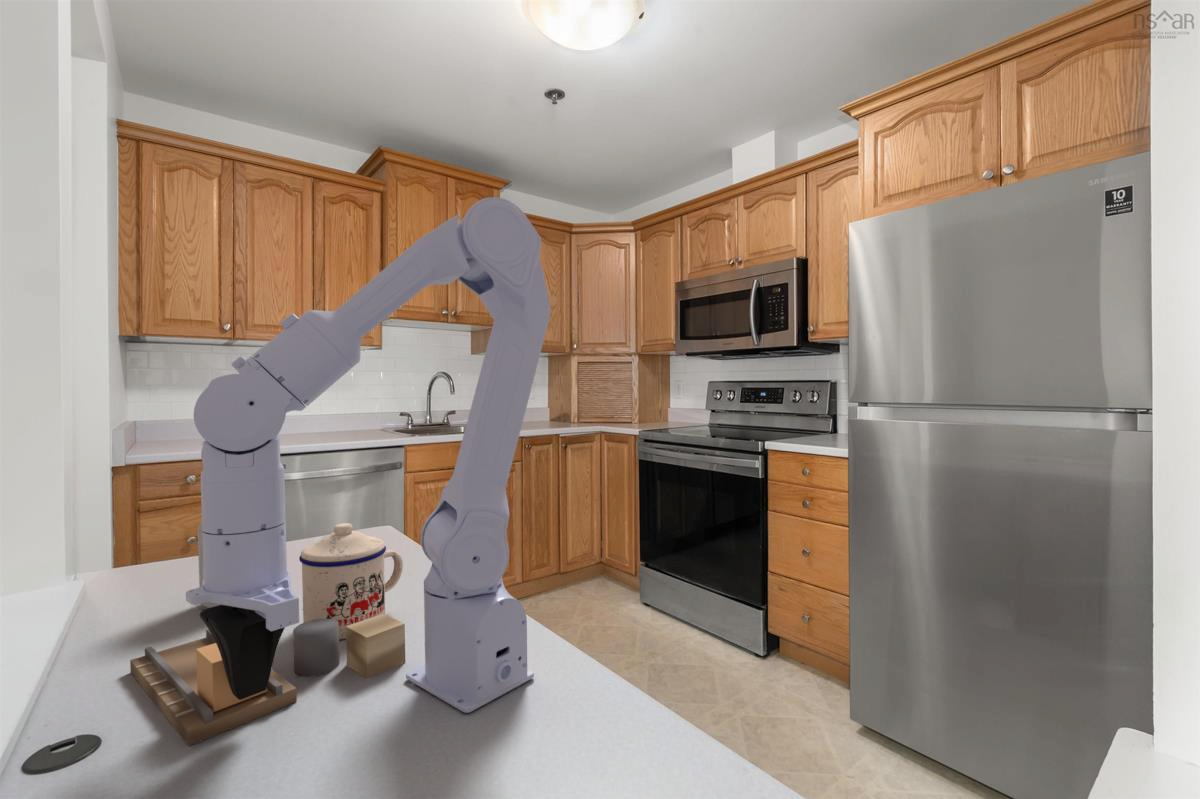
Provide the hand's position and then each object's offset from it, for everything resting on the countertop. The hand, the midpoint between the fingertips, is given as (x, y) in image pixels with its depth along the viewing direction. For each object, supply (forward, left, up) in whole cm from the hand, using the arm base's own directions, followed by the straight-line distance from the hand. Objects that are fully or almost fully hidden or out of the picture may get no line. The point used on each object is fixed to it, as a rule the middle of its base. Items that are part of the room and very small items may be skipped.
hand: (249, 692), depth 47 cm
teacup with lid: (+13, -16, -3) cm, 21 cm away
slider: (+4, 0, -2) cm, 4 cm away
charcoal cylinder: (+6, -8, -3) cm, 10 cm away
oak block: (+2, -12, -3) cm, 13 cm away
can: (+31, -9, -3) cm, 32 cm away
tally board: (+10, 0, -3) cm, 11 cm away
